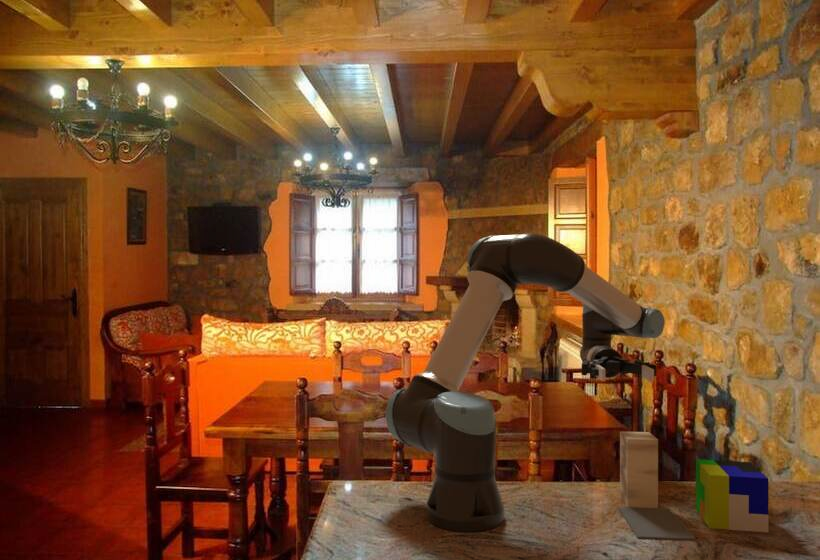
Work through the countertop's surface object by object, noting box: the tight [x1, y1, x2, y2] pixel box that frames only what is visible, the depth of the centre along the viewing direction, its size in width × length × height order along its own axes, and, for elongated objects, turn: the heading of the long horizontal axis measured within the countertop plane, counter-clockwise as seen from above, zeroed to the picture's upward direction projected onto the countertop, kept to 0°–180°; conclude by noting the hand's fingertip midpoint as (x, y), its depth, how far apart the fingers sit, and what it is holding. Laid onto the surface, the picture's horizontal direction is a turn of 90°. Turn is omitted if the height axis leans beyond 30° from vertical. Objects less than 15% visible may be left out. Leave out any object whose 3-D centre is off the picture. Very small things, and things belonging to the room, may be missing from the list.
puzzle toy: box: [695, 458, 769, 533], centre depth 118 cm, size 10×10×10 cm
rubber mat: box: [617, 506, 696, 541], centre depth 116 cm, size 14×10×1 cm
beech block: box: [619, 431, 659, 508], centre depth 127 cm, size 6×6×14 cm
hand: (627, 375), depth 135 cm, fingers open, 10 cm apart
